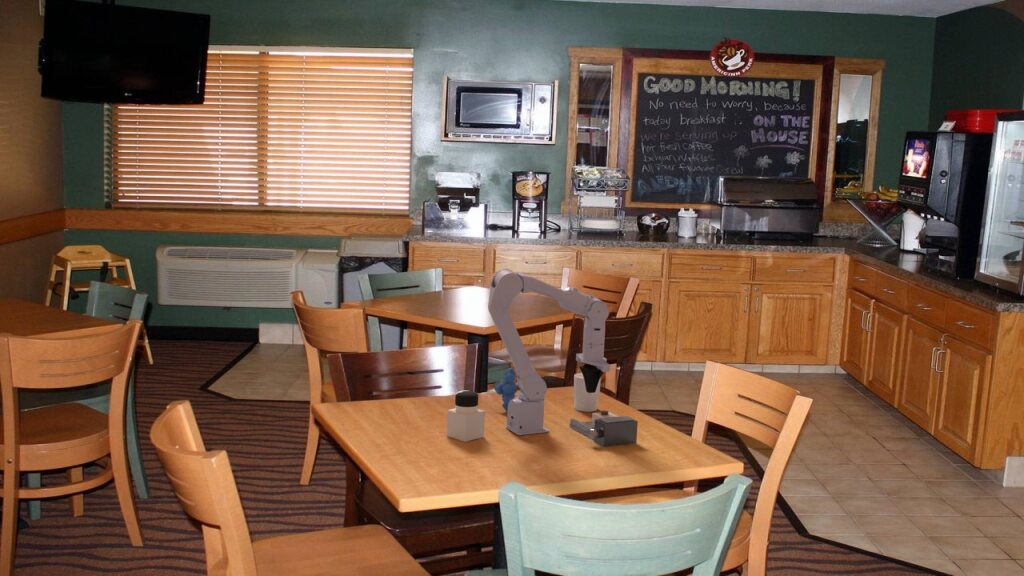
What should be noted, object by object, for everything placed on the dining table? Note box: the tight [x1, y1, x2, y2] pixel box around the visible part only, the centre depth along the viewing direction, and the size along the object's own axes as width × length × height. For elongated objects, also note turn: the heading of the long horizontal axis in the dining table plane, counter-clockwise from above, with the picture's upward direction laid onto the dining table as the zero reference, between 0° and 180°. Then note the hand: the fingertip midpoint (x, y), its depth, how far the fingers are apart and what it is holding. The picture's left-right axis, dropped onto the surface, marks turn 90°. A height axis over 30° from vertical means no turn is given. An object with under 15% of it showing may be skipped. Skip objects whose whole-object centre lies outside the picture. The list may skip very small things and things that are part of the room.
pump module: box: [591, 410, 620, 429], centre depth 257 cm, size 5×5×6 cm
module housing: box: [569, 415, 639, 448], centre depth 258 cm, size 13×19×6 cm
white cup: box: [573, 372, 602, 413], centre depth 285 cm, size 8×8×10 cm
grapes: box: [494, 367, 518, 412], centre depth 280 cm, size 12×7×12 cm, turn 175°
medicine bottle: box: [446, 389, 486, 443], centre depth 252 cm, size 7×7×12 cm
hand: (590, 392), depth 263 cm, fingers closed
